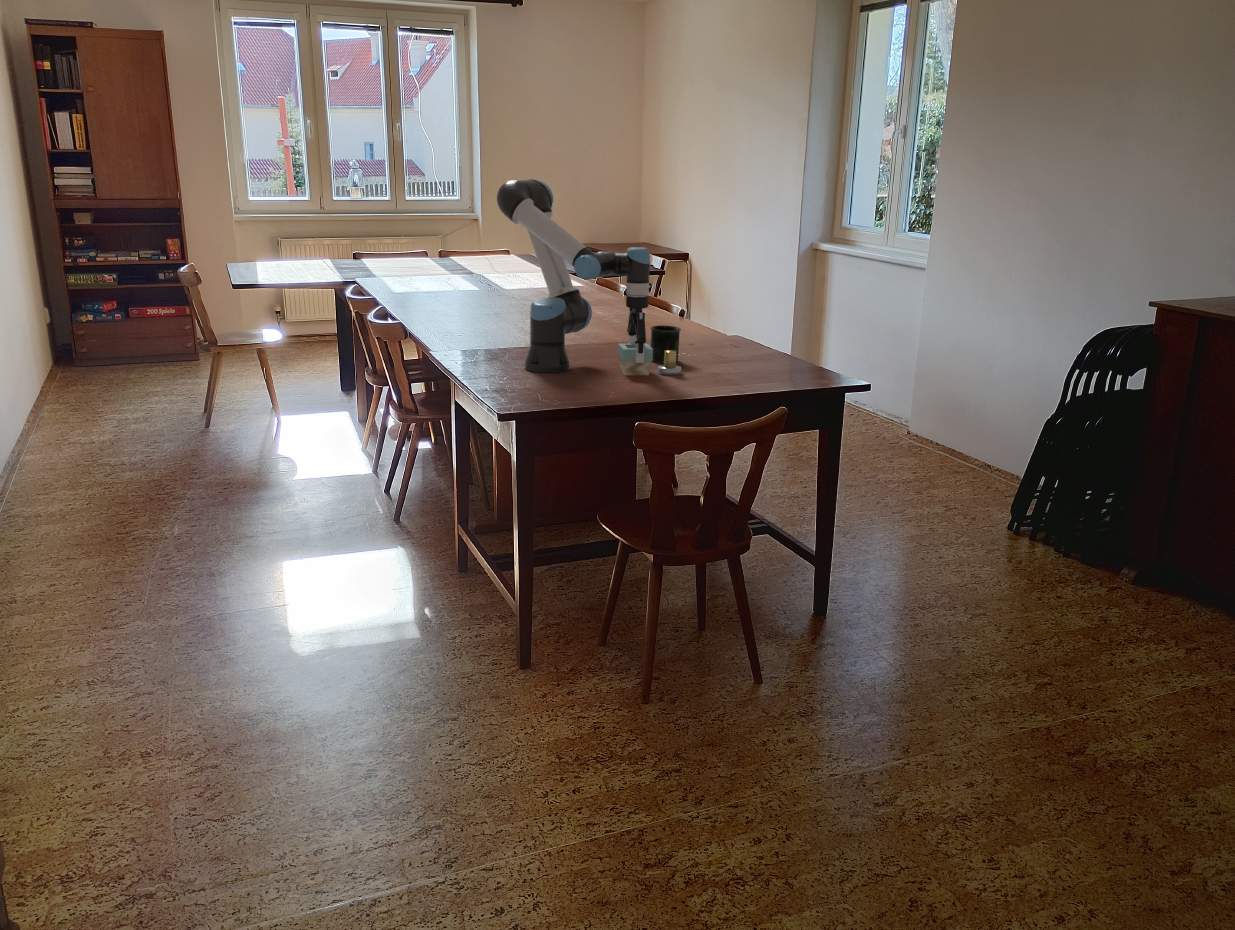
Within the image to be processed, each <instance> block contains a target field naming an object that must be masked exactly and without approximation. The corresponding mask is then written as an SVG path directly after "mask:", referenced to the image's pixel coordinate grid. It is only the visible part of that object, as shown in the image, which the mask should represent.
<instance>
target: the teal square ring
mask: <svg viewBox="0 0 1235 930" xmlns="http://www.w3.org/2000/svg"><path fill="white" fill-rule="evenodd" d="M617 344H618V345H617V356H618V357H619V358H620V359H622V361H636V344H628V343H617ZM644 361H650V362H653V349H652V348H651V345H649V344H648V343H645V344H644Z"/></svg>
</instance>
